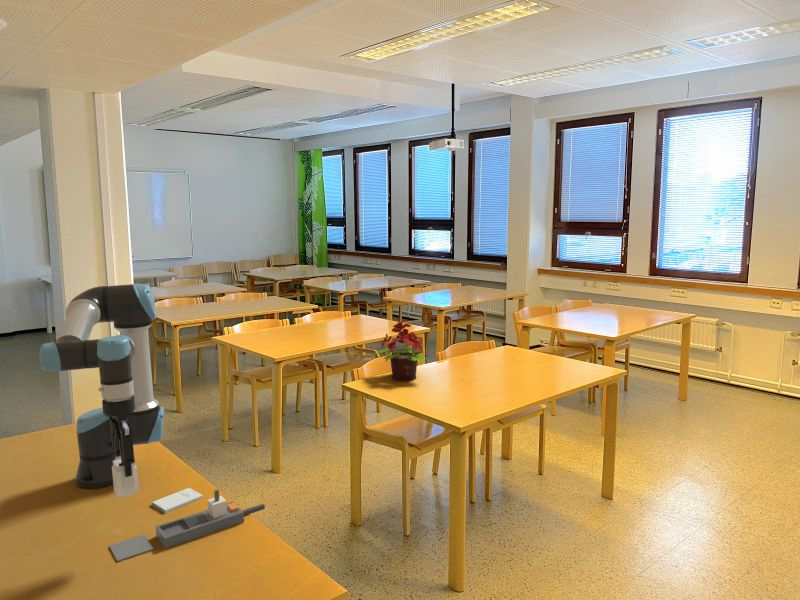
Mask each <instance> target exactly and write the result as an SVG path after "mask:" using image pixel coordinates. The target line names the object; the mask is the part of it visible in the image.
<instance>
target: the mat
mask: <svg viewBox="0 0 800 600" xmlns="http://www.w3.org/2000/svg"><path fill="white" fill-rule="evenodd" d="M108 547H109V550H110V551H111V553H112V555H113V557H114V559H115V560H116V562H117V563H119V562H123V561H125V560H128V559H131V558H134V557H137V556H140V555H143V554H146V553H149V552H152V551H154V550H155V548H154V547H153V545H152V543H151V542H150V540H149V539H148V537H147V536H146V535H145V534H141V535H138V536H135V537H131V538H129V539H126V540H121V541H119V542H116V543H113V544H110V545H108Z"/></svg>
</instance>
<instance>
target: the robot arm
mask: <svg viewBox="0 0 800 600" xmlns="http://www.w3.org/2000/svg"><path fill="white" fill-rule="evenodd" d="M156 310H157V309H156V304H155V298H154V295H153V291H152V289H151V287H150V285H148V284H140V283H139V284H138V283H137V284H136V283H134V284H133V283H132V284H119V285H117V284H116V285H99V286H94V287H92V288H88V289H86V290H84V291H83V292H81V293H79V294H77V295H76V296H75V297H74V298H72V300H70V302H69V303H68V305H67V307H66V309H65V317H66V318H65V320H64V323H63V324H62V327H61V328H60V331H59V333H58V336H57V337H56V340H55V342H54V341H51V342H46V343H43V344H41V346H40V348H39V364H40V368H41V370H42V371H44V372H46V373H48V372H49V373H50V372H57V373H60V372H65V371H74V370H75V371H77V370H86V369H96V368H98V371H99V381H100V383H99V384H100V386H101V387H99V388H98V392H101V398H102V401H101V405H102V406H101V407H99V408H94V409H92V410H89V411H87V412H84V413H83V414H81V415H80V416H79V417H78V418H77V419H76V430H75V431H76V432H75V433H76V437H77V445H78V446H77V447H78V455H79V462H78V467H77V470H76V474H75V484H76V486H77V487H79V488H82V489H98V488H104V487H108V486H111V485H112V486H113V474H112V466H113V460H117V459H121V463H120V464H119V466H121V475H122V486H123V489H126V488H130V487H133V486H135V485H134V474H133V463H135V464H136V459H135V453H134V446H137V445H145V444H146V445H149V444H152V443H157V442H159V441H161V439H162V437H163V432H164V431H163V429H164V428H163V427H164V415H165V412H164V411H165V407H164V406H160V402H159V401H158V399H156V398H155V397H154V387H153V375H152V363H151V362H152V361H151V352H150V350H151V349H150V339H149V338H150V337H149V329H150V328H151V327H152V326H153V320H156V318H157V315H158V314H157V311H156ZM98 323H99V324H100V323H113V328H114V329H115V330H116V331H118V332H119V334H117V335H114V336H106V337H105V336H104V337H103V338H99V339H98V338H97V339H90V336H91V333H92V330H93V328H94V326H95V325H97V324H98Z"/></svg>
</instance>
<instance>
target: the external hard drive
mask: <svg viewBox="0 0 800 600" xmlns="http://www.w3.org/2000/svg"><path fill="white" fill-rule="evenodd" d="M202 499H204V496H203V494H202V493H200V492H198V491H196V490H194V489H193V488H191V487H187V488H184V489H182V490H180V491H177V492H173V494H172V493H171V494H169V495H167V496H164V497H162V498H159V499H157V500H153V501H151V506H152V507H154V508H156V509H157V510H158V511H160V512H162V513H164V514H168V513H170V512H173V511H176V510H177V509H180V508H182V507H185V506H187V505H190V504H191V503H195V502H197V501H199V500H202Z"/></svg>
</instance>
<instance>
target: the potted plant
mask: <svg viewBox="0 0 800 600" xmlns="http://www.w3.org/2000/svg"><path fill="white" fill-rule="evenodd" d="M392 327H393V328H392V329H391V332H393V333H398V334H397V335H396V336H395V338H393V337H392V336H391V335H390V336H389V335H388V333H387V332H386V334H385V337H384V339H383V341H381V348H382V350H377V351H376V352H374V353H373V355H375V356H376V355H379V356H381V355H382V354H383V355H385V354H386V353H387V355H386V356H385V357H384V359H383V360H385V362H387V361H388V360H389V359H390V366H391V379H392V380H393V381H395V382H411V381H415V380H416V379H417V366H418V362H419V363H420V362H422V363H423V364H427V363H426V361H425V360H426V359H428V358H427V357H425V355H424V354H423V344H422V342H421V340H420V339H419V337H418V336H417V335H416V334H415V332H414V331H410V332H409V329H408V328H410V327H412V325H411V324H410V323H404V321H398V322H397V323H396V324H393V326H392ZM392 338H393V339H392ZM397 342H398V343H400V344H403V345H404V346H403V348H398V347H397V345H396V343H397ZM385 344H386V348H384V345H385ZM383 348H384V349H383ZM394 349H395V350H394ZM416 349H417V350H418V351H419V352H418V351H415V350H416ZM393 351H394V352H393ZM420 351H421V352H420ZM391 353H393V354H391Z"/></svg>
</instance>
